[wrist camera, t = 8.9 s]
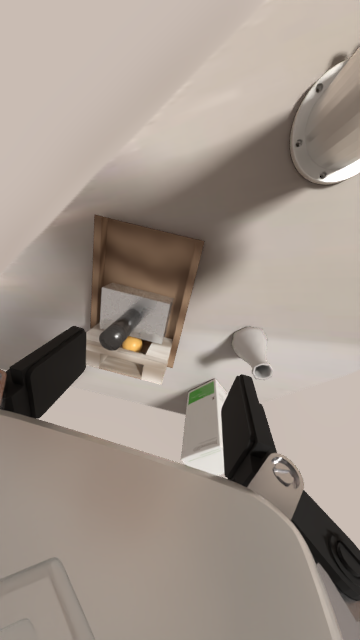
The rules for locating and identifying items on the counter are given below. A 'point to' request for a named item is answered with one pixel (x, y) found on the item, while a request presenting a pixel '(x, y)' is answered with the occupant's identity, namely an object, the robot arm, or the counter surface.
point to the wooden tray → (145, 274)
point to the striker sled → (132, 315)
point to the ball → (132, 344)
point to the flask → (253, 350)
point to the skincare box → (204, 428)
